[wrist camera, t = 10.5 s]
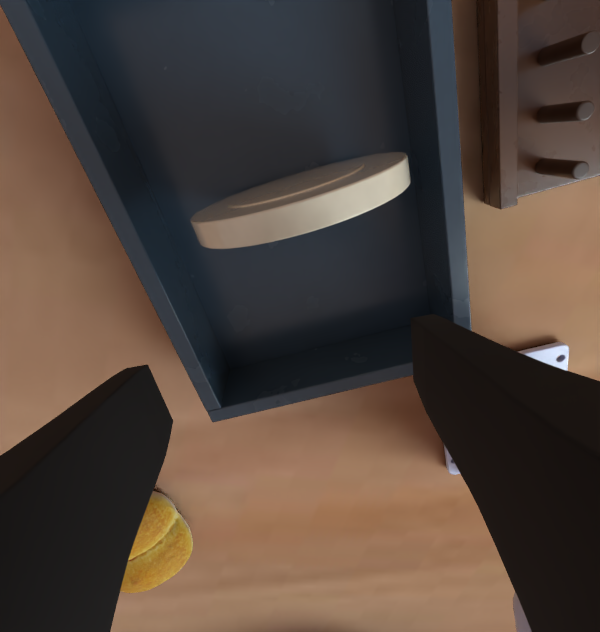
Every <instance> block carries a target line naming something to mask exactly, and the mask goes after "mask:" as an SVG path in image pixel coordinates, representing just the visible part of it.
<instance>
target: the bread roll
mask: <svg viewBox="0 0 600 632" xmlns="http://www.w3.org/2000/svg"><path fill="white" fill-rule="evenodd" d="M192 548H193V540H192V534H191V531H190V528H189V526H188V524H187V522H186V521H185V519H184V518H183V517H182V516H181V514H179V513H178V512H177V510H176V507H175V505H174V504H173V503H172V501H171V500H170V499H169V498H168V497H166V496H165V495H164V494H162V493H159V492H156V491H153V492H152V495H151V497H150V500H149V503H148V506H147V508H146V511H145V514H144V516H143V519H142V522H141V524H140V527H139V530H138V532H137V535H136V538H135V541H134V544H133V547H132V550H131V553H130V556H129V559H128V563H127V567H126V570H125V574H124V578H123V582H122V586H121V589H120V591H122V592H125V593H134V592H142V591H146V590H149V589H152V588H154V587H156V586H158V585H160V584H161V583H163V582H164V581H166V580H168V579H169V578H171V577H172V576H174V575H175V574H176V573H177V572H178V571H179V570H181V568H182V567H183V566H184V564H185V563H186V562H187V560H188V559H189V557H190V555H191V552H192Z"/></svg>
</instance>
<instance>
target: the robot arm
mask: <svg viewBox="0 0 600 632" xmlns="http://www.w3.org/2000/svg"><path fill="white" fill-rule="evenodd" d="M410 319H411V339H412V359H413V379H414V383H415V385H416V388H417V391H418V393H419V396H420V398H421V401H422V403H423V406H424V408H425V410H426V413H427V415H428V416H429V418H430V420H431V422H432V424H433V425H434V427H435V429H436V431H437V433H438V434H439V436H440V438H441V440H442V442H443V443H444V450H445V459H446V467H447V470H448V472H449V473H450V474H460V473H461V475H462V477H463V479H464V480H465V482H466V484H467V486H468V488H469V489H470V491H471V493H472V495H473V497H474V499H475V501H476V503H477V505H478V507H479V509H480V512H481V514H482V516H483V518H484V521H485V523H486V525H487V527H488V529H489V532H490V534H491V536H492V538H493V541H494V543H495V545H496V547H497V550H498V552H499V554H500V557H501V559H502V561H503V564H504V566H505V568H506V571H507V573H508V576H509V578H510V580H511V583H512V585H513V587H514V590H515V594H514V597H513V610H514V616H515V624H516V630H517V632H600V381H597V380H594V379H591V378H588V377H585V376H581V375H578V374H575V373H572V372H569V371H567V368H568V356H569V347H568V346H567V345H566V344H565V343H563V342H556V343H552V344H547V345H543V346H539V347H535V348H530V349H526V350H522V351H518V352H517V351H514V350H512V349H510V348H507V347H505V346H503V345H500V344H498V343H496V342H494V341H491V340H489V339H487V338H485V337H483V336H481V335H479V334H476V333H474V332H472V331H470V330H468V329H466V328H464V327H462V326H460V325H458V324H456V323H453V322H451V321H449V320H447V319H445V318H443V317H440V316H438V315H435V314H431V315H425V316H420V317H414V318H410ZM558 356H559V357H558ZM557 357H558V358H557ZM172 424H173V419H172V417H171V415H170V413H169V411H168V408H167V406H166V404H165V402H164V400H163V397H162V395H161V393H160V391H159V388H158V386H157V384H156V382H155V380H154V377H153V375H152V373H151V371H150V369H149V366H148V365H142V366H137V367H131V368H126V369H124V370H123V371H121V372H119V373H117V374H116V375H114V376H113V377H111V378H110V379H108V380H107V381H105V382H104V383H102V384H101V385H100V386H98V387H97V388H95V389H94V390H93V391H91V392H90V393H89V394H87V395H86V396H85V397H83V398H82V399H80V400H79V401H78V402H76V403H75V404H74V405H72V406H71V407H70V408H68V409H67V410H65V411H64V412H63V413H61V414H60V415H59V416H57V417H56V418H54V419H53V420H52V421H50V422H49V423H47V424H46V425H44V426H43V427H42V428H40V429H39V430H37V431H36V432H34V433H33V434H32V435H30V436H29V437H27V438H26V439H24V440H23V441H21V442H20V443H19V444H17V445H16V446H14V447H13V448H11V449H10V450H8V451H7V452H5V453H4V454H2V455H1V456H0V632H110V630H111V625H112V621H113V617H114V613H115V609H116V604H117V601H118V597H119V593H120V589H121V586H122V582H123V578H124V574H125V570H126V567H127V563H128V559H129V556H130V553H131V550H132V547H133V544H134V541H135V538H136V535H137V532H138V530H139V527H140V524H141V522H142V519H143V516H144V514H145V511H146V508H147V506H148V503H149V500H150V497H151V495H152V492H153V489H154V487H155V484H156V481H157V479H158V476H159V473H160V470H161V467H162V465H163V462H164V459H165V456H166V452H167V448H168V444H169V439H170V434H171V429H172Z"/></svg>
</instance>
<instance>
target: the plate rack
mask: <svg viewBox="0 0 600 632" xmlns="http://www.w3.org/2000/svg"><path fill="white" fill-rule="evenodd" d="M477 17H478V45H479V72H480V100H481V128H482V156H483V183H484V203H485V204H487V205H490V206H492V207H495V208H498V209H504V208H507V207H511V206H515V205H517V198H519V197H523V196H527V195H530V194H534V193H537V192H541V191H545V190H548V189H552V188H556V187H559V186H563V185H567V184H570V183H574V182H578V181H581V180H585V179H589V178H592V177H596V176H600V0H477Z"/></svg>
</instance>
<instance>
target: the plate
mask: <svg viewBox="0 0 600 632" xmlns="http://www.w3.org/2000/svg"><path fill="white" fill-rule="evenodd" d="M410 183H411V177H410V170H409V162H408V156H407V154H405V153H402V152H388V153H380V154H373V155H368V156H363V157H358V158H353V159H349V160H344V161H340V162H336V163H332V164H328V165H324V166H321V167H317V168H313V169H310V170H306V171H303V172H299V173H296V174H293V175H289V176H286V177H283V178H280V179H277V180H274V181H271V182H268V183H265V184H262V185H259V186H256V187H253V188H251V189H248V190H245V191H242V192H240V193H237V194H235V195H232V196H230V197H227V198H225V199H223V200H220V201H218V202H216V203H214V204H212V205H209V206H208V207H206V208H204V209H202V210H200V211H199V212H197V213H196V214H194V215H193V216H192V217H191V219H190V223H191V225H192V227H193V230H194V232H195V235H196V237H197V239H198V242H199V244H200V245H201V246H203V247H205V248H210V249H232V248H241V247H248V246H254V245H260V244H265V243H270V242H274V241H279V240H283V239H287V238H291V237H295V236H298V235H302V234H306V233H309V232H312V231H316V230H319V229H322V228H325V227H328V226H331V225H334V224H337V223H340V222H343V221H345V220H348V219H351V218H353V217H356V216H358V215H361V214H363V213H365V212H368V211H370V210H372V209H374V208H377V207H379V206H381V205H383V204H385V203H386V202H388V201H390V200H392V199H394V198H395V197H397V196H398V195H400V194H401V193H403V192H404V191H405V190H406V189H407V188H408V187H409V185H410Z"/></svg>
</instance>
